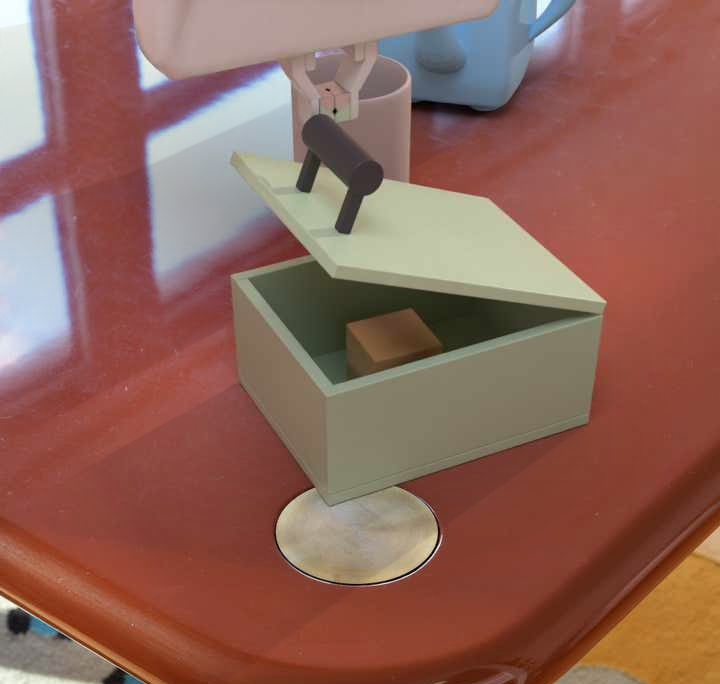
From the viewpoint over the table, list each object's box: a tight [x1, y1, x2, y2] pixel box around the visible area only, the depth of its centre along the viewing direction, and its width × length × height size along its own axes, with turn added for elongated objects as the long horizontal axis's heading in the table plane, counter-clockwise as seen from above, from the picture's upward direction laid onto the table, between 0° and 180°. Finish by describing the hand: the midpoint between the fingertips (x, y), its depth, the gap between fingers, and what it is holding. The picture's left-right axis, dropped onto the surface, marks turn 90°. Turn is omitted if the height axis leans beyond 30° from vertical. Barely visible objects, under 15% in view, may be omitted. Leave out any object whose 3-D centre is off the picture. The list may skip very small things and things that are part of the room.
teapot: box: [378, 0, 578, 112], centre depth 114 cm, size 18×16×14 cm
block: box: [346, 308, 443, 381], centre depth 83 cm, size 4×4×4 cm
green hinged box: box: [230, 254, 604, 507], centre depth 82 cm, size 18×14×8 cm
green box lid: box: [229, 114, 608, 315], centre depth 76 cm, size 18×14×5 cm
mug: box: [290, 51, 412, 184], centre depth 99 cm, size 12×8×11 cm
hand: (328, 120), depth 76 cm, fingers closed
